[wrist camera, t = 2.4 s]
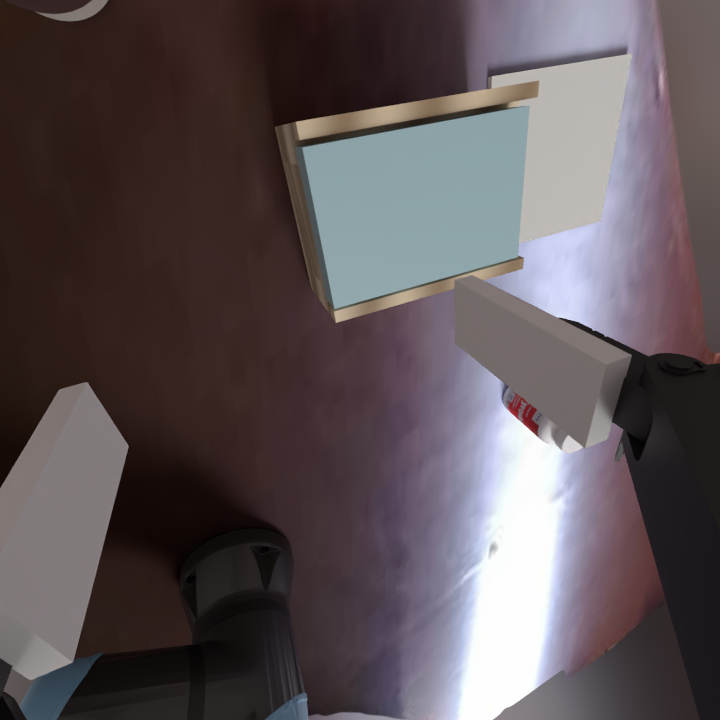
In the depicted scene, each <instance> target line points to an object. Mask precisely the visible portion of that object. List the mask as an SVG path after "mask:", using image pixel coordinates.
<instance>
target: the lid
mask: <svg viewBox="0 0 720 720" xmlns="http://www.w3.org/2000/svg"><path fill="white" fill-rule="evenodd" d="M529 108H530V105H529V106H521V107H512V108H505V109H500V110H494V111H489V112H483V113H478V114H473V115H467V116H462V117H456V118H451V119H445V120H440V121H435V122H429V123H424V124H418V125H413V126H407V127H402V128H397V129H391V130H386V131H380V132H375V133H369V134H364V135H359V136H353V137H348V138H342V139H337V140H331V141H326V142H321V143H315V144H310V145H304V146H299V147H295V150H296V154H297V159H298V164H299V169H300V174H301V178H302V183H303V188H304V193H305V198H306V202H307V207H308V212H309V217H310V222H311V226H312V231H313V236H314V241H315V246H316V250H317V255H318V260H319V265H320V270H321V274H322V279H323V284H324V289H325V294H326V298H327V300H328V301H329V303H330V304H331V305H332V306H333V308H334V309H336V308H340V307H343V306H347V305H350V304H354V303H357V302H361V301H364V300H368V299H372V298H375V297H379V296H382V295H386V294H389V293H393V292H396V291H400V290H403V289H407V288H411V287H414V286H418V285H421V284H425V283H428V282H432V281H435V280H439V279H443V278H446V277H450V276H453V275H457V274H460V273H464V272H467V271H471V270H474V269H478V268H482V267H485V266H489V265H492V264H496V263H499V262H503V261H506V260H510V259H514V258H517V257H518V247H519V235H520V222H521V209H522V197H523V184H524V171H525V159H526V146H527V133H528V121H529Z"/></svg>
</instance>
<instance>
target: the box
mask: <svg viewBox="0 0 720 720" xmlns="http://www.w3.org/2000/svg"><path fill="white" fill-rule="evenodd" d="M538 91H539V81H533V82H527V83H521V84H515V85H509V86H504V87H498V88H492V89H486V90H480V91H474V92H468V93H462V94H456V95H451V96H445V97H439V98H433V99H427V100H421V101H415V102H409V103H403V104H398V105H392V106H386V107H380V108H374V109H368V110H362V111H356V112H351V113H345V114H339V115H333V116H327V117H321V118H315V119H309V120H303V121H298V122H293V123H289V124H285V125H280V126H276V127H275V131H276V135H277V140H278V144H279V149H280V153H281V157H282V162H283V166H284V171H285V175H286V179H287V184H288V188H289V193H290V197H291V201H292V206H293V210H294V214H295V219H296V223H297V228H298V232H299V236H300V241H301V245H302V250H303V254H304V258H305V263H306V267H307V272H308V276H309V280H310V285H311V288H312V290H313V291H314V293H315V294H316V295H317V297H318V298H319V300H320V301H321V302H322V304H323V305H324V307H325V308H326V309H327V311H328V312H329V313H330V315H331V316H332V318H333V319H334V320H335V322H336V323H337V322H341V321H344V320H347V319H351V318H354V317H358V316H361V315H365V314H368V313H372V312H375V311H378V310H382V309H385V308H389V307H392V306H396V305H399V304H403V303H406V302H410V301H413V300H416V299H420V298H423V297H427V296H430V295H434V294H437V293H441V292H444V291H447V290H451V289H454V280H456V279H460V278H463V277H467V276H470V275H473V276H475V277H477V278H479V279H481V280H485V279H489V278H492V277H496V276H499V275H503V274H506V273H510V272H513V271H516V270H520V269H523V261H524V258H523V257H520V256H518V257H517V258H514V259H510V260H506V261H503V262H499V263H496V264H492V265H489V266H485V267H482V268H478V269H474V270H471V271H467V272H464V273H460V274H457V275H453V276H450V277H446V278H443V279H439V280H435V281H432V282H428V283H425V284H421V285H418V286H414V287H411V288H407V289H403V290H400V291H396V292H393V293H389V294H386V295H382V296H379V297H375V298H372V299H368V300H364V301H361V302H357V303H354V304H350V305H347V306H343V307H340V308H336V309H334V308H333V306H332V305H331V304H330V303H329V301H328V300H327V298H326V294H325V289H324V284H323V279H322V274H321V270H320V265H319V260H318V255H317V250H316V246H315V241H314V236H313V231H312V226H311V222H310V217H309V212H308V207H307V202H306V198H305V193H304V188H303V183H302V178H301V174H300V169H299V164H298V159H297V154H296V150H295V147H299V146H304V145H310V144H315V143H321V142H326V141H331V140H337V139H342V138H348V137H353V136H359V135H364V134H369V133H375V132H380V131H386V130H391V129H397V128H402V127H407V126H413V125H418V124H424V123H429V122H435V121H440V120H445V119H451V118H456V117H462V116H467V115H473V114H478V113H483V112H489V111H494V110H500V109H505V108H512V107H519V101H520V100H525V99H531V98H536V97H538Z"/></svg>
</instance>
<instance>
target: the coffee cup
mask: <svg viewBox="0 0 720 720" xmlns="http://www.w3.org/2000/svg"><path fill="white" fill-rule="evenodd" d="M5 1H7V2H9V3H12V4H14V5H16V6H19V7H21V8H24V9H27V10H31V11H34V12H36V13H39V14H41V15H43V16H46V17H49V18H52V19H56V20H61V21H79V20H83V19H86V18H89V17H91V16H93V15H95V14H96V13H97V12H99V11H100V10H101V9H102V8H103V7H104V5H105V4H106V2H107V1H108V0H5Z"/></svg>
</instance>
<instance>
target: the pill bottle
mask: <svg viewBox="0 0 720 720" xmlns="http://www.w3.org/2000/svg"><path fill="white" fill-rule="evenodd" d="M503 403H504V406H505V407H506V409H508V410H509V411H510V412H511V413H512V414H513V415H514V416H515V417H516V418H517V419H519V420H520V421H521V422H522V423H523V424H524V425H525V426H526V427H527V428H529V429H530V430H531V431H532V432H533V433H534V434H535V435H536V436H537V437H539V438H540V439H541V440H542V441H543V442H545V443H548V444H555V445H556V446H558V447H559V448H560V449H561V450H562V451H563V452H565V453H573V452H576V451H578V450H579V449H581V448H582V446H581V445H580V444H579V443H578V442H576V441H575V440H574V439H573V438H571V437H570V436H569V435H568V434H566V433H565V432H564V431H563V430H562V429H560V428H559V427H558V426H557V425H555V424H554V423H553V422H552V421H550V420H549V419H548V418H547V417H545V416H544V415H543V414H542V413H541V412H539V411H538V410H537V409H536V408H534V407H533V406H532V405H531V404H529V403H528V402H527V401H526V400H525V399H523V398H522V397H521V396H520V395H518V394H517V393H516V392H515V391H513V390H512V389H511V388H510V387H508V388H507V389H506V391H505V394H504V397H503Z"/></svg>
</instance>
